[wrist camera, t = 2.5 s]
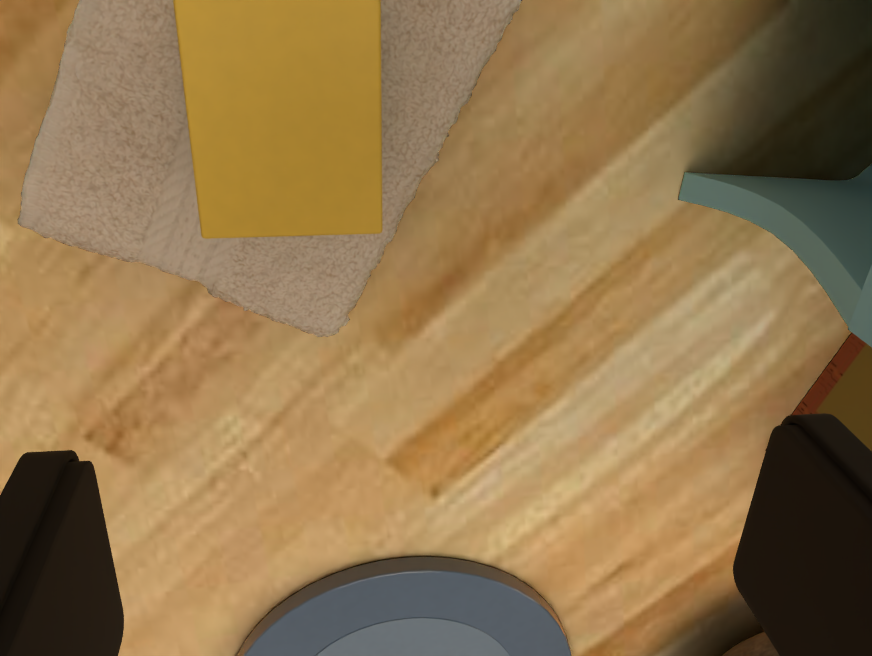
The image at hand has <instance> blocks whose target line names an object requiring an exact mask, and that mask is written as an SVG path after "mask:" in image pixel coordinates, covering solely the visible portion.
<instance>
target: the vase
mask: <svg viewBox="0 0 872 656" xmlns="http://www.w3.org/2000/svg"><path fill="white" fill-rule="evenodd" d="M678 200H682V201H686V202H690V203H694V204H698V205H703V206H707V207H711V208H714V209H717V210H721V211H724V212H728V213H730V214H733V215H735V216H738V217H741V218H743V219H746V220H748V221H751V222H752V223H754V224H756V225H758V226H760V227H762V228H763V229H765V230H767V231H769V232H771V233H772V234H774V235H775V236H776V237H777V238H778V239H780V240H781V241H782V242H783V243H784V244H786V245H787V246H788V247H789V248H790V249H791V250H793V251H794V253H795V254H796V255H797V256H798V257H799V258H800V259H801V260H802V262H803V263H804V264H805V265H806V266H807V267H808V268H809V270H810V271H811V272H812V273H813V275H814V276H815V278H816V279H817V280H818V282H819V283H820V284H821V286H822V287H823V289H824V290H825V291H826V293H827V294H828V296H829V298H830V299H831V301H832V302H833V304H834V305H835V307H836V309H837V310H838V312H839V313H840V315H841V316H842V318H843V320H844V321H845V323H846V324H847V326H848V330H849V331H851V332H852V333H853V334H855V335H856V336H857V337H859V338H860V339H861V340H863V341H864V342H865V343H867V344H868V345H869V346H871V347H872V164H870V165H869V166H868V167H867V168H866V169H865V170H864V171H862V172H861V173H860V174H859V175H858V176H856V177H854V178H852V179H848V180H818V179H800V178H781V177H763V176H744V175H726V174H707V173H689V172H685V173H684V177H683V181H682V185H681V190H680V194H679V198H678Z"/></svg>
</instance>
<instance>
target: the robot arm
mask: <svg viewBox="0 0 872 656" xmlns="http://www.w3.org/2000/svg"><path fill="white" fill-rule="evenodd" d="M733 574H734V580H735V583H736V586H737V588H738V590H739V592H740V593H741V595H742V597H743V598H744V600H745V601H746V603H747V605H748V606H749V608H750V609H751V611H752V613H753V614H754V616H755V617H756V619H757V620H758V622H759V624H760V625H761V627H762V628H763V630H764V632H765V633H766V635H767V636H768V638H769V640H770V641H771V643H772V644H773V646H774V648H775V649H776V651H777V652H778V654H779V656H872V451H871V450H870V449H869V448H868V447H866V446H865V445H864V444H863V443H862V442H861V441H860V440H859V439H858V438H857V437H856V436H855V435H854V434H853V433H852V432H851V431H850V430H849V429H848V428H847V427H846V426H845V425H844V424H843V423H842V422H841V421H840V420H839V419H837V418H836V417H835V416H833V415H832V414H827V413H821V414H801V415H790V416H787V417H786V418H785V419H784V420H783V422H782V424H781V426H777V427H775V428H774V429H773V431H772V433H771V436H770V439H769V443H768V446H767V450H766V453H765V456H764V460H763V463H762V467H761V470H760V474H759V477H758V481H757V484H756V488H755V491H754V494H753V498H752V501H751V505H750V508H749V512H748V515H747V519H746V522H745V526H744V529H743V533H742V536H741V539H740V543H739V546H738V550H737V553H736V557H735V560H734V565H733ZM123 629H124V614H123V607H122V602H121V597H120V592H119V587H118V583H117V578H116V573H115V568H114V563H113V558H112V553H111V548H110V543H109V538H108V533H107V528H106V523H105V518H104V513H103V509H102V504H101V499H100V494H99V489H98V484H97V479H96V474H95V470H94V466H93V464H92V462H90V461H79V459H78V456H77V454H76V453H75V452H74V451H72V450H67V451H47V452H27V453H25V454H23V455H22V457H21V458H20V459H19V461H18V463H17V465H16V467H15V469H14V470H13V472H12V474H11V476H10V478H9V480H8V482H7V484H6V485H5V487H4V489H3V491H2V493H1V495H0V656H118V653H119V649H120V645H121V642H122V637H123Z"/></svg>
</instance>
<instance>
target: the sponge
mask: <svg viewBox="0 0 872 656" xmlns="http://www.w3.org/2000/svg"><path fill="white" fill-rule="evenodd" d="M173 4H174V12H175V20H176V29H177V37H178V45H179V54H180V62H181V71H182V79H183V87H184V96H185V104H186V112H187V121H188V129H189V137H190V146H191V154H192V162H193V171H194V179H195V187H196V196H197V204H198V212H199V221H200V229H201V236H202V238H204V239H212V238H247V237H282V236H317V235H352V234H380V233H382V230H383V229H382V92H381V0H173Z"/></svg>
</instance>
